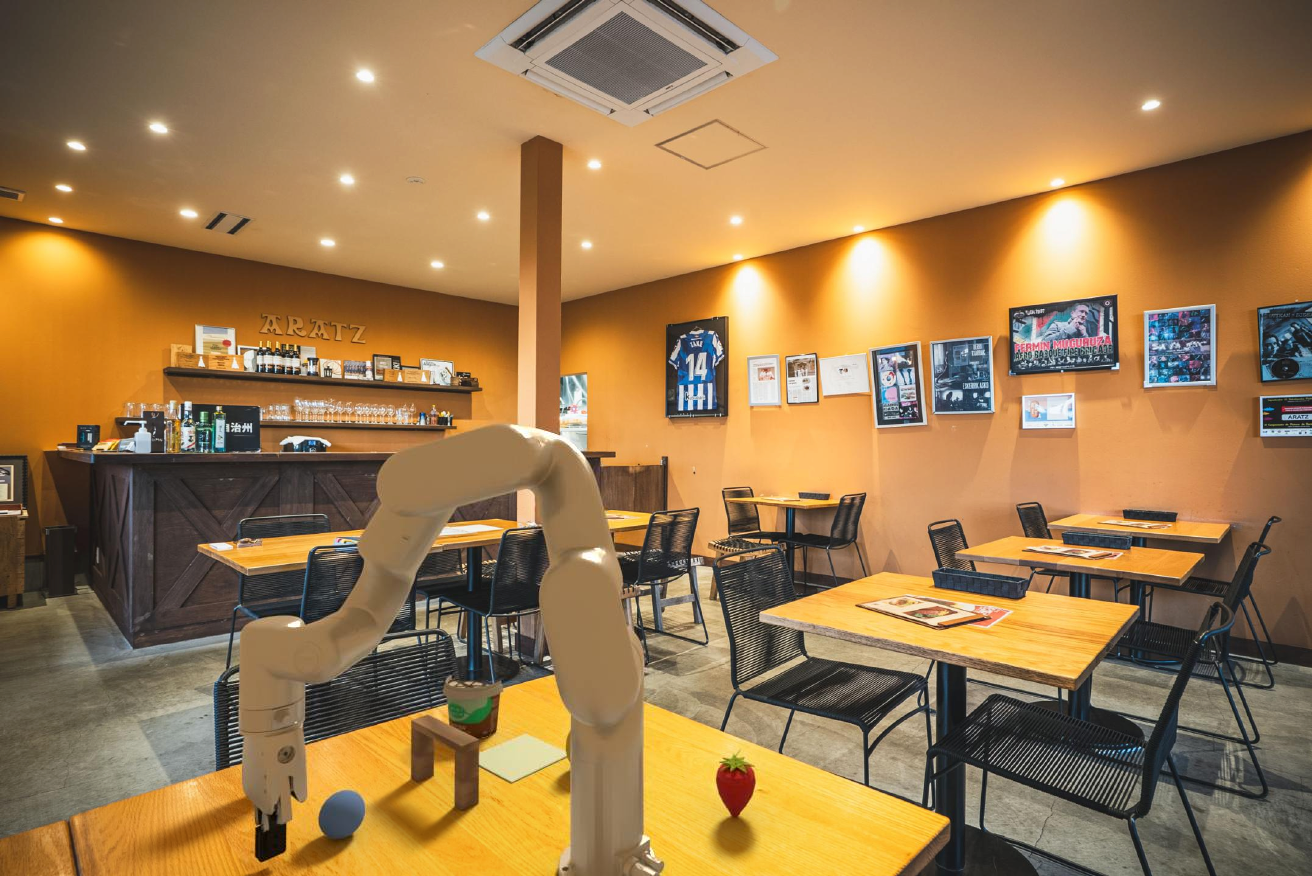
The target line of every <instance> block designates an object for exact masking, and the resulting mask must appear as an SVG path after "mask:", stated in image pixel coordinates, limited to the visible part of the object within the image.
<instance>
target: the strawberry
mask: <svg viewBox="0 0 1312 876" xmlns="http://www.w3.org/2000/svg"><path fill="white" fill-rule="evenodd" d="M741 751H742V749H741V748H740V749H739V750H738V752H737V753H736V754H734V753H733V754H732V757H731V758H729V757H722V760H721V761H720V760H719V761H718V764H719V763H720V764H721V765H720V766H719V767H718V768H717V771H716V776H715V785H716V789H717V792H718V795H719V797H720V799H721V801H722V803H723V804H724V806H725V808H726V809H727V811H728V812H729V814H730V816H731V817H733V818H738V817H739V816H740V815H741V813H742V811H744V809H745V808H747V805H748V804H749V802H750V800H751V799H752V797H753V795H754V791H755V787H756V783H757V781H756V774H755V771H754V769H753V768H755V767H756V766H755V765H754V764H752V763H750V762H747V761H745V758H746V757H745V756H742V757H737V756H738V755H739V753H740V752H741ZM752 767H753V768H752Z"/></svg>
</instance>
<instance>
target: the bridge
mask: <svg viewBox="0 0 1312 876" xmlns="http://www.w3.org/2000/svg"><path fill="white" fill-rule="evenodd" d="M410 722H411V723H410V724H411V725H410V753H411V754H410V779H411V781H413V782H414V783H420V781H421V782H423V781H425V780H427V779H430V778H431V777H432V776H433V777H434V776H435V741H436V742H438V743H440V744H442V745H444V746H445V747H448V748H449V749H451V750H453V751H454V790H453V791H454V799H453V801H454V808H456V809H457V810H460V811H461V812H462V811H465V810H468V809H470V808H471V807H473V806H475V805H477V804H480V766H479V753H480V739H477V738H475V737H473V736H471V735H469V734H467V733H465V732H463V731H461V730H458V729H456V728H454V727H452V726H450V725H449V723H446V722H444V721H442V720H440V719H438V718H436V717H434V716H431V715H429V714H425V715H422V716H419V717H416V718H413V719H411V721H410Z"/></svg>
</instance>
